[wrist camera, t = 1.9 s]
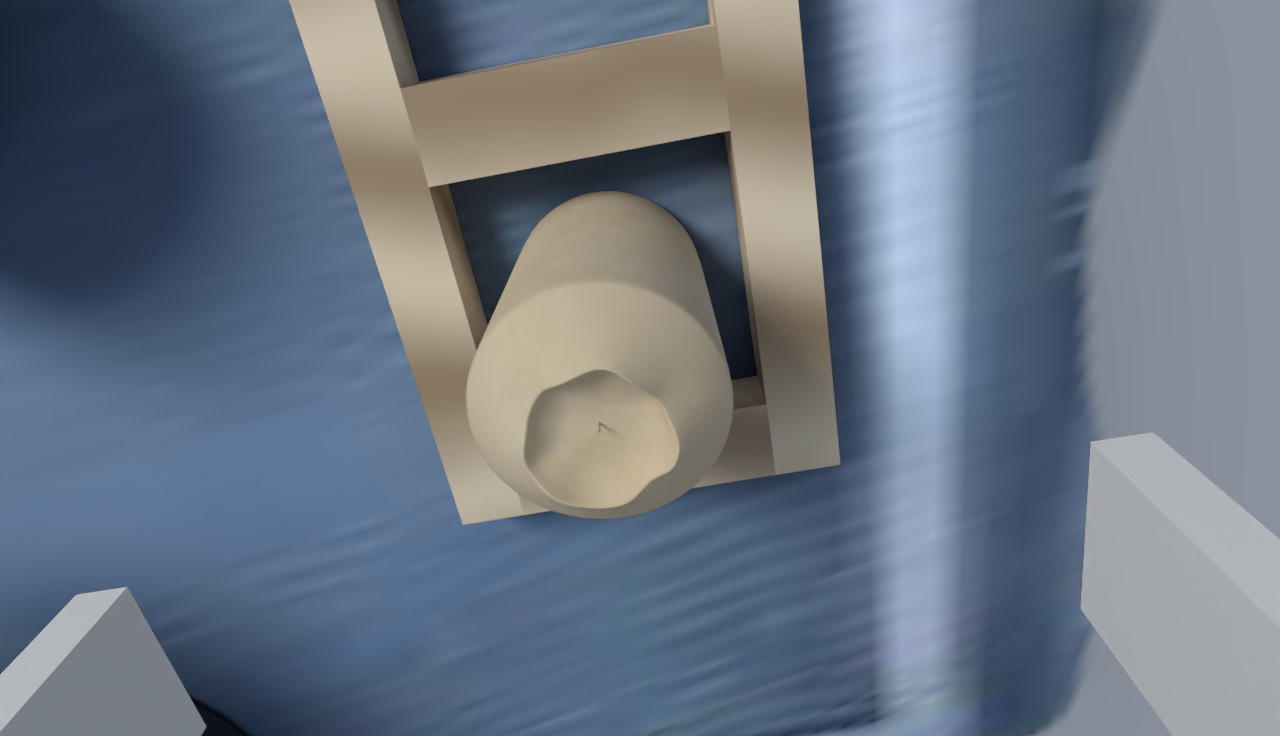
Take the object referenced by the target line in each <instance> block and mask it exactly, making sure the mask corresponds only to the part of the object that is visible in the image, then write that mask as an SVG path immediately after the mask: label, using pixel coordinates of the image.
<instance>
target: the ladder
mask: <svg viewBox="0 0 1280 736" xmlns="http://www.w3.org/2000/svg"><path fill="white" fill-rule="evenodd" d="M289 1H290V4H291V7H292V10H293V14H294V17H295V20H296V23H297V26H298V29H299V32H300V35H301V38H302V41H303V44H304V47H305V50H306V53H307V56H308V59H309V62H310V65H311V68H312V71H313V74H314V77H315V80H316V83H317V86H318V89H319V92H320V95H321V98H322V101H323V104H324V107H325V110H326V113H327V116H328V119H329V122H330V125H331V128H332V131H333V134H334V137H335V140H336V143H337V146H338V149H339V152H340V155H341V158H342V161H343V164H344V167H345V170H346V173H347V176H348V179H349V182H350V185H351V188H352V191H353V194H354V197H355V200H356V203H357V207H358V210H359V213H360V216H361V219H362V222H363V225H364V228H365V231H366V234H367V237H368V240H369V243H370V246H371V249H372V252H373V255H374V258H375V261H376V264H377V267H378V270H379V273H380V276H381V279H382V282H383V285H384V288H385V291H386V294H387V297H388V300H389V303H390V306H391V309H392V312H393V315H394V318H395V321H396V324H397V327H398V330H399V333H400V336H401V339H402V342H403V345H404V348H405V351H406V354H407V357H408V360H409V363H410V366H411V369H412V372H413V375H414V378H415V381H416V384H417V387H418V390H419V393H420V397H421V400H422V403H423V406H424V409H425V412H426V415H427V418H428V421H429V424H430V427H431V430H432V433H433V436H434V439H435V442H436V445H437V448H438V451H439V454H440V457H441V460H442V463H443V466H444V469H445V472H446V475H447V478H448V481H449V484H450V487H451V490H452V493H453V496H454V499H455V502H456V505H457V508H458V511H459V514H460V517H461V520H462V523H463V525H465V524H471V523H477V522H484V521H490V520H496V519H503V518H509V517H515V516H521V515H528V514H534V513H540V512H546V511H552V510H549V509H546V508H544V507H541V506H539V505H537V504H535V503H533V502H531V501H529V500H527V499H526V498H524V497H523V496H521V495H520V494H518V493H517V492H515V491H514V490H513V489H512V488H510V487H509V486H508V485H507V484H506V483H505V482H503V481H502V480H501V479H500V478H499V476H498V475H497V474H496V473H495V472H494V471H493V470H492V469H491V467H490V466H489V465H488V463H487V462H486V460H485V459H484V458H483V456H482V454H481V452H480V451H479V449H478V447H477V445H476V443H475V441H474V438H473V435H472V432H471V429H470V426H469V421H468V416H467V410H466V388H467V379H468V375H469V371H470V367H471V364H472V361H473V359H474V356H475V354H476V352H477V349H478V347H479V344H480V342H481V340H482V338H483V335H484V333H485V331H486V329H487V327H488V324H487V320H486V317H485V313H484V310H483V306H482V303H481V299H480V295H479V292H478V288H477V285H476V281H475V278H474V274H473V271H472V267H471V263H470V260H469V256H468V253H467V249H466V246H465V242H464V238H463V235H462V231H461V228H460V224H459V221H458V217H457V214H456V210H455V206H454V203H453V199H452V196H451V192H450V189H449V185H448V184H449V183H455V182H460V181H465V180H471V179H476V178H481V177H487V176H492V175H497V174H502V173H508V172H513V171H518V170H524V169H529V168H534V167H540V166H545V165H550V164H555V163H561V162H566V161H571V160H577V159H582V158H587V157H593V156H598V155H603V154H609V153H614V152H619V151H624V150H630V149H635V148H640V147H646V146H651V145H656V144H662V143H667V142H672V141H678V140H683V139H688V138H693V137H699V136H704V135H709V134H715V133H720V132H724V134H725V141H726V148H727V156H728V163H729V171H730V178H731V186H732V193H733V201H734V208H735V215H736V223H737V230H738V238H739V245H740V253H741V260H742V268H743V275H744V283H745V290H746V297H747V305H748V312H749V320H750V327H751V335H752V342H753V350H754V357H755V364H756V372H757V376H753V377H747V378H741V379H735V380H731V382H732V387H733V400H734V407H733V417H732V423H731V427H730V431H729V435H728V437H727V440H726V442H725V445H724V447H723V450H722V451H721V453H720V455H719V457H718V458H717V460H716V462H715V463H714V465H713V466H712V467H711V468H710V470H709V471H708V472H707V474H706V475H705V476H704V477H703V478H702V479H701V480H700V481H699V482H698V483H697V484H696V485H695V486H694V487H692V488H697V487H704V486H710V485H716V484H722V483H729V482H735V481H741V480H748V479H754V478H760V477H766V476H773V475H779V474H785V473H791V472H798V471H804V470H810V469H817V468H823V467H829V466H835V465H840V454H839V443H838V432H837V421H836V410H835V399H834V388H833V377H832V366H831V355H830V344H829V333H828V322H827V311H826V300H825V289H824V278H823V267H822V256H821V245H820V234H819V223H818V212H817V201H816V190H815V179H814V168H813V157H812V146H811V135H810V124H809V113H808V102H807V91H806V80H805V69H804V58H803V47H802V36H801V25H800V14H799V3H798V0H707V7H708V14H709V22H710V24H708V25H703V26H698V27H693V28H688V29H683V30H678V31H673V32H668V33H663V34H658V35H652V36H647V37H642V38H637V39H632V40H627V41H622V42H617V43H612V44H607V45H602V46H597V47H592V48H587V49H582V50H577V51H572V52H566V53H561V54H556V55H551V56H546V57H541V58H536V59H531V60H526V61H521V62H516V63H511V64H506V65H501V66H496V67H491V68H486V69H480V70H475V71H470V72H465V73H460V74H455V75H450V76H445V77H440V78H435V79H430V80H425V81H420V82H419V78H418V75H417V71H416V67H415V64H414V60H413V57H412V53H411V50H410V46H409V43H408V39H407V35H406V32H405V28H404V25H403V21H402V18H401V14H400V11H399V7H398V3H397V0H289Z"/></svg>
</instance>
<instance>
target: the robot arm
mask: <svg viewBox="0 0 1280 736" xmlns="http://www.w3.org/2000/svg"><path fill="white" fill-rule="evenodd" d="M1081 610H1082V611H1083V613H1084V614H1085V615H1086V617H1087V618H1088V619H1089V621H1090V622H1091V624H1092V625H1093V626H1094V628H1095V629H1096V631H1097V632H1098V633H1099V635H1100V636H1101V637H1102V639H1103V640H1104V642H1105V643H1106V644H1107V646H1108V647H1109V649H1110V650H1111V651H1112V653H1113V654H1114V656H1116V658H1117V660H1118V661H1119V662H1120V664H1121V665H1122V667H1123V668H1124V669H1125V671H1126V672H1127V674H1128V675H1129V676H1130V678H1131V679H1132V681H1133V682H1134V683H1135V685H1136V686H1137V687H1138V689H1139V690H1140V692H1141V693H1142V694H1143V696H1144V697H1145V699H1146V700H1147V701H1148V703H1149V704H1150V705H1151V707H1152V708H1153V710H1154V711H1155V712H1156V714H1157V715H1158V717H1159V718H1160V719H1161V721H1162V722H1163V724H1164V725H1165V726H1166V728H1167V729H1168V730H1169V732H1170V733H1171V735H1172V736H1280V539H1279V538H1277V537H1276V536H1275V535H1274V534H1273V533H1272V532H1270V531H1269V530H1268V529H1267V528H1266V527H1264V526H1263V525H1262V524H1261V523H1260V522H1259V521H1257V520H1256V519H1255V518H1254V517H1253V516H1251V515H1250V514H1249V513H1248V512H1247V511H1245V510H1244V509H1243V508H1242V507H1241V506H1240V505H1238V504H1237V503H1236V502H1235V501H1234V500H1233V499H1231V498H1230V497H1229V496H1228V495H1226V494H1225V493H1224V492H1223V491H1222V490H1221V489H1219V488H1218V487H1217V486H1216V485H1215V484H1214V483H1212V482H1211V481H1210V480H1209V479H1208V478H1206V477H1205V476H1204V475H1203V474H1202V473H1200V472H1199V471H1198V470H1197V469H1196V468H1195V467H1193V466H1192V465H1191V464H1190V463H1189V462H1187V461H1186V460H1185V459H1184V458H1183V457H1182V456H1180V455H1179V454H1178V453H1177V452H1176V451H1175V450H1173V449H1172V448H1171V447H1170V446H1169V445H1167V444H1166V443H1165V442H1164V441H1163V440H1162V439H1160V438H1159V437H1158V436H1157V435H1156V434H1154V433H1146V434H1140V435H1133V436H1126V437H1119V438H1113V439H1106V440H1099V441H1093V442H1091V449H1090V465H1089V481H1088V498H1087V514H1086V530H1085V546H1084V563H1083V579H1082V595H1081ZM0 736H244V735H243V734H241V733H240V732H239V731H238V730H237V729H235V728H234V727H232V726H231V725H230V724H228V723H227V722H226V721H224V720H223V719H221V718H219V717H218V716H216V715H215V714H213V713H211V712H210V711H208V710H206V709H204V708H203V707H201V706H199V705H197V704H195V703H193V702H192V700H191V698H190V697H189V695H188V693H187V691H186V689H185V688H184V686H183V684H182V682H181V681H180V679H179V677H178V675H177V674H176V672H175V670H174V668H173V667H172V665H171V663H170V661H169V660H168V658H167V656H166V654H165V653H164V651H163V649H162V647H161V645H160V644H159V642H158V640H157V638H156V637H155V635H154V633H153V631H152V630H151V628H150V626H149V624H148V623H147V621H146V619H145V617H144V616H143V614H142V612H141V610H140V608H139V607H138V605H137V603H136V601H135V600H134V598H133V596H132V594H131V593H130V591H129V589H128V587H124V588H117V589H110V590H104V591H97V592H91V593H84V594H77V595H76V596H75V597H74V598H73V599H72V600H71V601H70V602H69V603H68V604H67V605H66V606H65V607H64V608H63V609H62V610H61V611H60V612H59V613H58V615H57V616H56V617H55V618H54V619H53V620H52V621H51V622H50V623H49V624H48V625H47V626H46V627H45V628H44V629H43V630H42V631H41V632H40V633H39V634H38V636H37V637H36V638H35V639H34V640H33V641H32V642H31V643H30V644H29V645H28V646H27V647H26V648H25V649H24V650H23V651H22V652H21V653H20V654H19V655H18V657H17V658H16V659H15V660H14V661H13V662H12V663H11V664H10V665H9V666H8V667H7V668H6V669H5V670H4V671H3V672H2V673H1V674H0Z"/></svg>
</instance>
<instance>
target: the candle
mask: <svg viewBox="0 0 1280 736" xmlns="http://www.w3.org/2000/svg"><path fill="white" fill-rule="evenodd" d="M733 407H734V400H733V387H732V382H731V377H730V372H729V368H728V364H727V360H726V356H725V353H724V349H723V345H722V341H721V337H720V334H719V330H718V326H717V322H716V319H715V315H714V311H713V307H712V304H711V300H710V296H709V292H708V288H707V285H706V281H705V277H704V273H703V270H702V266H701V263H700V260H699V257H698V254H697V251H696V248H695V246H694V244H693V242H692V240H691V238H690V236H689V235H688V233H687V232H686V230H685V229H684V227H683V226H682V225H681V224H680V223H679V222H678V221H677V220H676V218H675V217H674V216H672V215H671V214H670V213H669V212H668V211H666V210H665V209H664V208H662V207H661V206H659V205H657V204H656V203H654V202H653V201H650V200H648V199H646V198H644V197H641V196H638V195H635V194H632V193H627V192H621V191H598V192H591V193H587V194H583V195H580V196H577V197H575V198H572V199H570V200H568V201H566V202H564V203H562V204H560V205H559V206H557V207H556V208H555V209H553V210H552V211H550V212H549V213H548V214H547V215H546V216H545V217H544V218H543V219H542V220H541V221H540V222H539V223H538V224H537V226H536V227H535V228H534V229H533V231H532V232H531V234H530V236H529V238H528V239H527V241H526V243H525V245H524V247H523V249H522V251H521V253H520V255H519V258H518V260H517V262H516V264H515V266H514V269H513V271H512V273H511V275H510V278H509V280H508V282H507V284H506V286H505V289H504V291H503V293H502V295H501V298H500V300H499V302H498V304H497V307H496V309H495V311H494V313H493V315H492V318H491V320H490V322H489V324H488V327H487V329H486V331H485V333H484V335H483V338H482V340H481V342H480V344H479V347H478V349H477V352H476V354H475V356H474V359H473V361H472V364H471V367H470V371H469V375H468V379H467V388H466V410H467V416H468V421H469V426H470V429H471V432H472V435H473V438H474V441H475V443H476V445H477V447H478V449H479V451H480V452H481V454H482V456H483V458H484V459H485V460H486V462H487V463H488V465H489V466H490V467H491V469H492V470H493V471H494V472H495V473H496V474H497V475H498V476H499V478H500V479H501V480H502V481H503V482H505V483H506V484H507V485H508V486H509V487H510V488H512V489H513V490H514V491H515V492H517V493H518V494H520V495H521V496H523V497H524V498H526V499H527V500H529V501H531V502H533V503H535V504H537V505H539V506H541V507H544V508H546V509H549V510H552V511H554V512H557V513H561V514H565V515H569V516H573V517H579V518H587V519H616V518H625V517H630V516H635V515H640V514H643V513H646V512H649V511H652V510H655V509H657V508H659V507H662V506H664V505H666V504H668V503H670V502H672V501H673V500H675V499H677V498H679V497H680V496H682V495H683V494H685V493H686V492H687V491H688V490H690V489H691V488H692V487H694V486H695V485H696V484H697V483H698V482H699V481H700V480H701V479H702V478H703V477H704V476H705V475H706V474H707V472H708V471H709V470H710V468H711V467H712V466H713V465H714V463H715V462H716V460H717V458H718V457H719V455H720V453H721V451H722V450H723V447H724V445H725V442H726V440H727V437H728V435H729V431H730V427H731V423H732V417H733Z"/></svg>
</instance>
